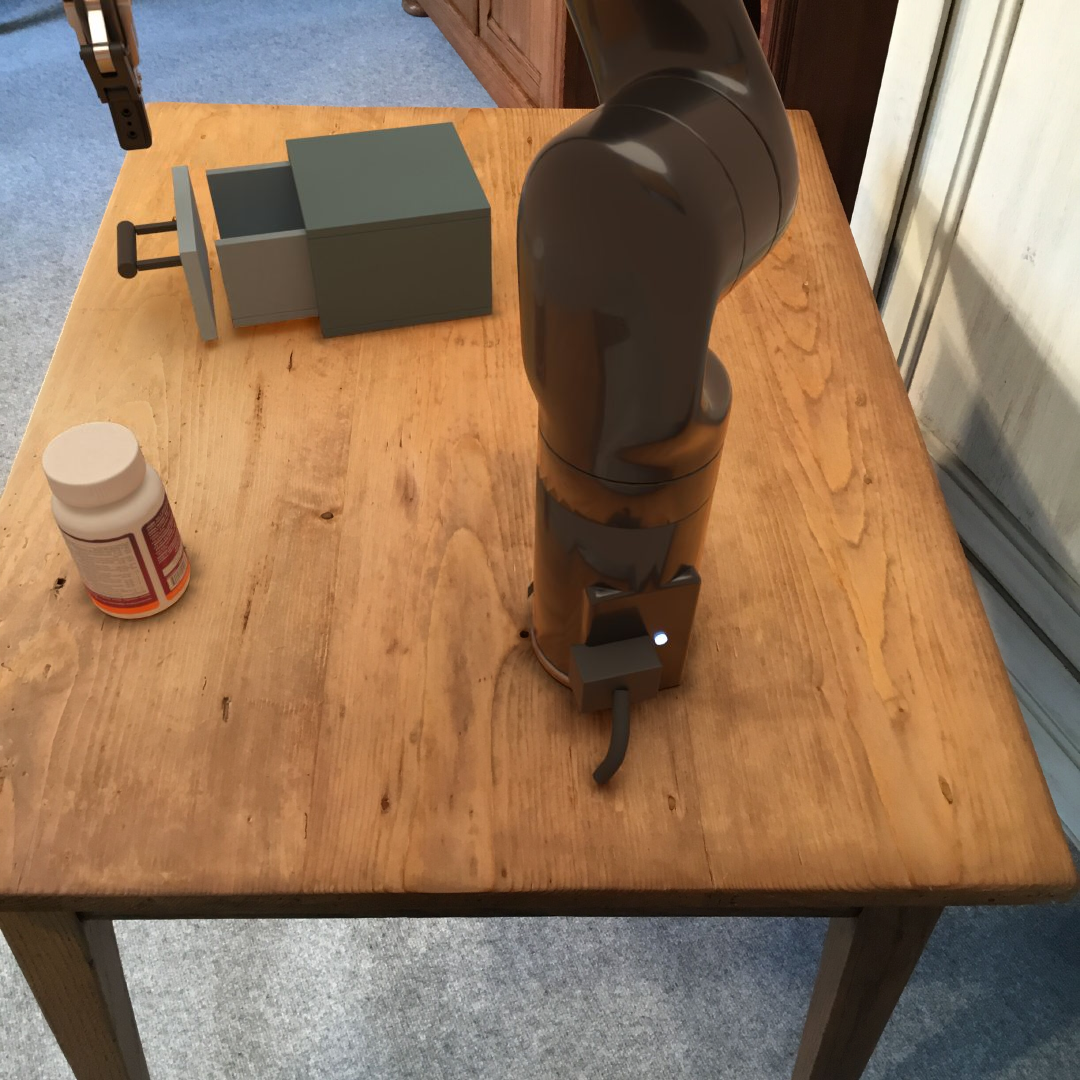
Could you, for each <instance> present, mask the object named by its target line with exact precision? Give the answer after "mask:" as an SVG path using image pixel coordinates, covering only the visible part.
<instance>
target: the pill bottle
mask: <svg viewBox="0 0 1080 1080" xmlns="http://www.w3.org/2000/svg"><path fill="white" fill-rule="evenodd" d="M41 467H42V471H43V474H44V476H45V478H46V481H47V483H48V486H49V488H50V490H51V496H50V507H51V509H50V510H51V513H52V515H53V518H54V520H55V524H56V525H57V528H58V530H59V532H60V534H61V536H62V538H63V540H64V543H65V545H66V547H67V550H68V551H69V554H70V555H71V558H72V560H73V562H74V564H75V566H76V569H77V571H78V573H79V577H80V578H81V580H82V582H83V585H84V588H85V590H86V591H87V593H88V595H89V597H90V599H91V602H93V603H94V605H95V606H96V607H97V608H98V609H99V610H100V611H102V612H103V613H105V614H106V615H109V616H112V617H114V618H120V619H140V618H146V617H150V616H153V615H155V614H158V613H161V612H163V611H164V610H166V609H167V608H169V607H171V606H172V605H174V604H175V603H176V602H177V601H178V600H179V599H180V598H181V597H182V596H183V594H184V593H185V592H186V589H187V588H188V586H189V583H190V579H191V565H190V561H189V558H188V554H187V551H186V549H185V546H184V543H183V540H182V539H183V538H182V536H181V533H180V530H179V527H178V525H177V522H176V518H175V516H174V512H173V509H172V506H171V503H170V501H169V499H168V495H167V492H166V489H165V484H164V483H163V480H162V478H161V476H160V474H159V472H158V471H157V469H156V468H155V467H154V465H151V463H150V462H148V461H146V458H145V455H144V453H143V452H142V448H141V445H140V442H139V440H138V438H137V435H136V434H135V433H134V432H133V431H132V430H131V429H130V428H128V427H127V426H124V425H122V424H119V423H116V422H111V421H90V422H85V423H82V424H77V425H74V426H72V427H70V428H68V429H66V430H64V431H62V432H60V433H58V435H56V436H55V437H53V439H52V440H50V442H49V443H48V444H47V445H46V447H45V449H44V451H43V453H42V456H41Z"/></svg>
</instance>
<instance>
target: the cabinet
mask: <svg viewBox="0 0 1080 1080" xmlns="http://www.w3.org/2000/svg"><path fill="white" fill-rule="evenodd" d="M285 147H286V154H287V159H288V160H287V161H290V165H291V169H292V174H293V178H294V182H295V187H296V191H297V195H298V200H299V204H300V208H301V213H302V217H303V221H304V226H305V230H306V234H307V241H308V248H309V254H310V260H311V267H312V273H313V280H314V286H315V292H316V299H317V305H318V312H319V316H317V318H318V322H319V326H320V331H321V334H322V338H323V339H329V338H335V337H337V338H338V337H343V336H350V335H358V334H365V333H371V332H379V331H385V330H393V329H398V328H404V327H413V326H420V325H426V324H433V323H441V322H446V321H456V320H461V319H467V318H475V317H481V316H488V315H493V257H492V256H493V253H492V251H493V250H492V249H493V247H492V246H493V245H492V244H493V243H492V241H493V240H492V207H491V204H490V202H489V199H488V197H487V195H486V193H485V192H484V191H485V190H484V188H483V187H482V185H481V183H480V180H479V177H478V176H477V173H476V171H475V169H474V167H473V164H472V162H471V160H470V158H469V156H468V154H467V151H466V149H465V147H464V145H463V142H462V140H461V138H460V136H459V133H458V131H457V129H456V126H455V124H454V122H453V121H447V122H437V123H428V124H419V125H409V126H400V127H392V128H391V127H390V128H383V129H372V130H364V131H355V132H354V131H353V132H345V133H337V134H335V133H334V134H326V135H316V136H308V137H298V138H291V139H289V138H288V139H285Z"/></svg>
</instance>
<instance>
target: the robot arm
mask: <svg viewBox="0 0 1080 1080" xmlns="http://www.w3.org/2000/svg"><path fill="white" fill-rule="evenodd" d="M61 1H62V5H63V9H64V13H65V16H66V19H67V22H68V23H67V24H68V25H69V26H70V28H72V29H73V30H74V32H75V35H76V38H77V41H78V45H79V51H78V53H79V54H78V55H79V58H80V60H81V61H82V62H83V65H84V67H85V69H86V71H87V74H88V77H89V78H90V81H91V83H92V85H93V87H94V89H95V92H96V96H97V98H98V99H99V101H100V102H101V104H107V105H108V109H109V112H110V115H111V116H110V117H111V119H112V124H113V127H114V131H115V134H116V137H117V141H118V143H119V144H118V145H119V147H120V148H121V149H122V150H124V151H127V152H130V151H139V150H147V149H150V148H151V147H152V146H153V133H152V129H151V123H150V120H149V117H148V112H147V108H146V104H145V100H144V97H143V92H144V90H143V85H142V82H143V77H142V73H141V72H140V71H139V67H138V66H139V65H140V51H139V46H140V45H139V36H138V33H137V29H136V24H135V20H134V16H133V8H132V5H133V4H132V3H133V1H132V0H61ZM563 2H564V4H565V6H566V8H567V10H568V12H569V17H570V19H571V21H572V23H573V26H574V29H575V32H576V34H577V36H578V39H579V41H580V44H581V47H582V50H583V53H584V56H585V58H586V59H585V60H586V61H587V64H588V68H589V71H590V74H591V78H592V81H593V84H594V88H595V92H596V95H597V99H598V103H599V106H596V107H595V108H594V109H593V110H591V111H590V112H588V113H587V114H585V115H583V116H582V117H580V118H579V119H578V120H576V121H575V122H573V123H572V124H570V125H569V126H567V127H566V128H565V129H563V130H561V131H560V132H559V133H557V134H556V135H554V136H553V137H552V138H551V139H549V141H547V142H546V143H545V144H544V145H543V146H542V147H541V148H540V150H539V151H538V152H537V153H536V155H535V157H534V158H533V159H532V160H531V161H532V162H531V163H530V165H529V166H528V169H527V172H526V174H525V177H524V180H523V183H522V187H521V191H520V195H519V200H518V201H519V202H518V207H517V218H516V238H515V239H516V268H517V269H516V271H517V289H518V306H519V307H518V308H519V326H520V327H519V330H520V348H521V356H522V363H523V368H524V371H525V375H526V378H527V382H528V383H529V386H530V389H531V391H532V392H533V395H534V397H535V400H536V402H537V442H536V443H537V445H536V446H537V447H536V448H537V449H536V468H535V469H536V471H535V508H534V541H533V542H534V543H533V544H534V546H533V579H532V582H531V583H530V584H529V585H528V586H527V590H526V591H527V595H526V597H527V600H529V598H530V597H531V596H532V597H533V598H532V613H531V617H530V639H531V645H532V648H533V651H534V653H535V656H536V657H537V660H538V661H539V663H540V664H541V665H542V667H543V668H544V669H545V670H546V672H548V674H549V675H551V676H552V677H553V678H554V679H555V680H556V681H558V682H559V683H561V684H562V685H564V686H566V687H567V688H569V689H571V690H572V694H573V696H574V698H575V702H576V704H577V707H578V710H579V713H580V714H581V715H584V714H588V713H593V712H598V711H603V710H607V709H611V733H610V734H611V735H610V740H609V746H608V749H607V753H606V755H605V757H604V759H603V760H602V761H601V762H600V763H599V765H598V766H597V767H596V768H595V769H594V771H593V772H592V774H591V775H592V780H593V781H594V782H595V783H597V784H598V785H601V786H604V785H607V784H608V783H609V782H610V780H612V778H613V776H614V775H615V774H616V773H617V772H618V770H619V769H620V768H621V766H622V765H623V762H624V760H625V758H626V754H627V751H628V748H629V742H630V731H631V704H635V703H639V702H644V701H648V700H653V699H656V698H657V697H658V694H659V690H661V689H667V688H670V687H675V686H678V685H680V684H682V682H683V677H684V672H685V667H686V662H687V657H688V653H689V647H690V644H691V639H692V632H693V627H694V624H695V618H696V613H697V608H698V603H699V599H700V593H701V590H702V589H701V588H702V585H703V584H702V583H703V581H702V576H701V575H700V568H701V562H702V558H703V552H704V547H705V543H706V537H707V531H708V526H709V522H710V517H711V511H712V507H713V506H712V505H713V501H714V495H715V491H716V485H717V480H718V477H719V472H720V466H721V463H722V462H721V461H722V456H723V450H724V446H725V441H726V437H727V433H728V429H729V422H730V418H731V413H732V406H733V386H732V380H731V378H730V375H729V372H728V370H727V368H726V366H725V364H724V362H722V360H721V359H720V358H719V356H718V355H717V354H716V353H715V352H714V351H713V350H712V349H711V348H709V346H710V345H709V344H710V337H711V331H712V326H713V322H714V317H715V314H716V309H717V307H718V305H719V304H720V303H721V302H722V301H723V300H724V299H726V297H727V296H728V295H730V293H731V292H733V290H734V289H735V288H737V286H739V285H740V284H741V283H742V282H743V281H744V279H746V278H747V277H748V276H749V275H750V274H751V273H752V272H753V271H754V270H755V269H756V268H757V267H758V266H759V265H760V264H761V263H762V262H763V261H765V259H766V258H767V257H768V256H769V255H770V254H771V252H772V251H773V250H774V249H775V248H776V247H777V245H778V244H779V243H780V241H781V240H782V238H783V237H784V235H785V234H786V232H787V230H788V228H789V227H790V224H791V222H792V219H793V217H794V214H795V212H796V208H797V204H798V198H799V187H800V164H799V157H798V150H797V146H796V141H795V137H794V133H793V129H792V126H791V123H790V120H789V117H788V114H787V113H788V112H787V111H786V107H785V105H784V102H783V100H782V97H781V93H780V92H779V89H778V86H777V83H776V80H775V78H774V75H773V73H772V70H771V68H770V65H769V62H768V61H767V58H766V55H765V53H764V51H763V48H762V46H761V43H760V41H759V38H758V35H757V33H756V31H755V28H754V26H753V23H752V21H751V17H749V14H748V11H747V9H746V6H745V4H744V1H743V0H563Z"/></svg>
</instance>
